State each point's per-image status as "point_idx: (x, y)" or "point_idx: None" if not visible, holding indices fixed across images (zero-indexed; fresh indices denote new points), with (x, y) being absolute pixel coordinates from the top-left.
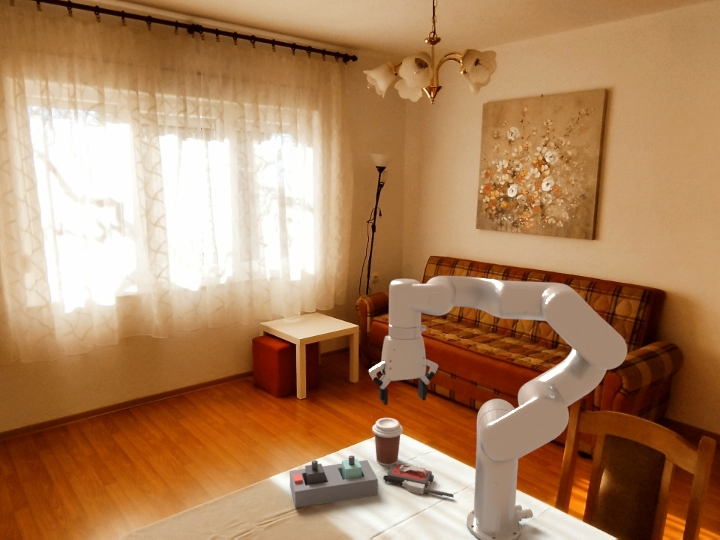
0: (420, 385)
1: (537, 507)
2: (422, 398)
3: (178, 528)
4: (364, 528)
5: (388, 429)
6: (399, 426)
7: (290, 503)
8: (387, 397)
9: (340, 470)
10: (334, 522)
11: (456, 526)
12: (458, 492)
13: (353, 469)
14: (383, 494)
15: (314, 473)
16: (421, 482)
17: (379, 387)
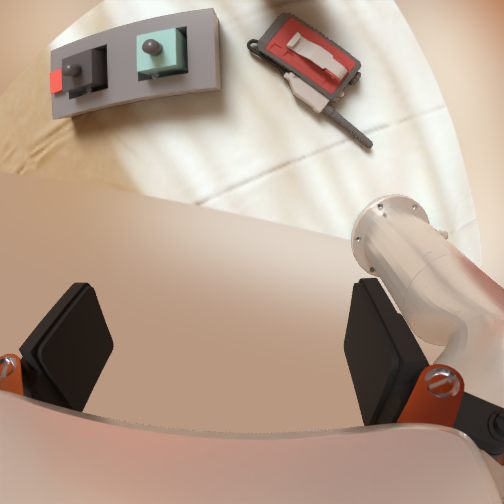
0: (374, 381)
1: (471, 211)
2: (346, 349)
3: None
4: (173, 187)
5: None
6: None
7: None
8: (97, 375)
9: None
10: (126, 163)
11: (337, 218)
12: (388, 128)
13: (156, 68)
14: (234, 91)
15: (73, 88)
16: (323, 94)
17: (23, 364)
